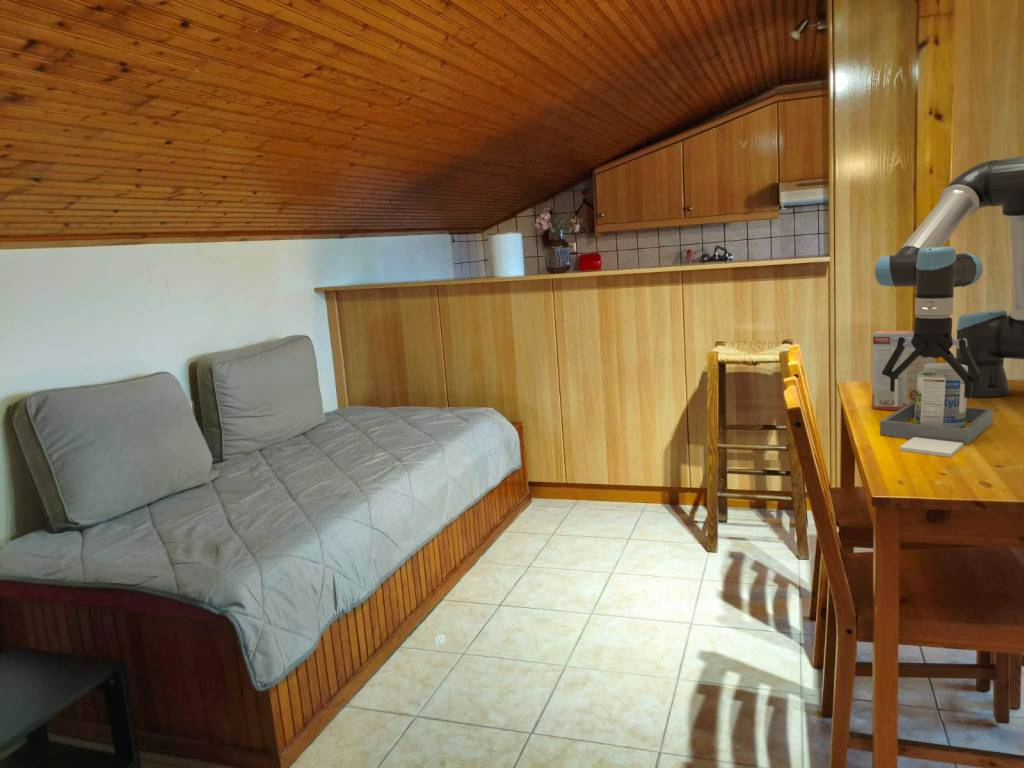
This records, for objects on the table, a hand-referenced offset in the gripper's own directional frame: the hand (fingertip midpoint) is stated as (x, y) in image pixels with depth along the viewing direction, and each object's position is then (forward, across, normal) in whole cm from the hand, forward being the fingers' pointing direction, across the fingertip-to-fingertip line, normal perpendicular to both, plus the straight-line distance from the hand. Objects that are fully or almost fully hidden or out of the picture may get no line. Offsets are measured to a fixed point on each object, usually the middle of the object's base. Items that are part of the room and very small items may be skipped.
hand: (929, 408), depth 176 cm
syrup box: (+7, 0, 0) cm, 7 cm away
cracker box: (+7, -13, +25) cm, 29 cm away
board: (+7, +4, -11) cm, 13 cm away
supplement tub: (+7, 0, +12) cm, 14 cm away
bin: (+6, 0, +7) cm, 10 cm away
